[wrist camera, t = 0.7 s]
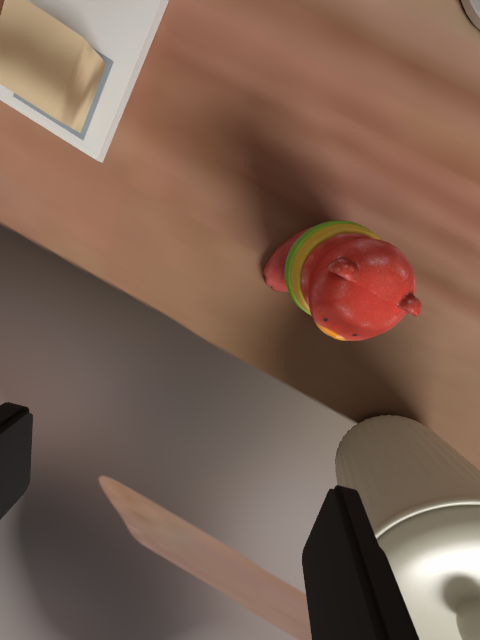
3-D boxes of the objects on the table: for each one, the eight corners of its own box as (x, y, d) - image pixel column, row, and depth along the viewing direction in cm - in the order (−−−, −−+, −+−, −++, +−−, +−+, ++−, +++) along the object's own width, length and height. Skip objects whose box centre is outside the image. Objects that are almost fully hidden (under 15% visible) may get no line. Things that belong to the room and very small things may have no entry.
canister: (317, 391, 39) (380, 558, 19) (460, 391, 38) (688, 570, 18) (313, 499, 44) (359, 721, 24) (438, 502, 43) (598, 739, 23)
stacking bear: (256, 278, 36) (254, 318, 18) (306, 202, 33) (359, 168, 16) (328, 326, 37) (388, 406, 20) (383, 256, 34) (508, 279, 17)
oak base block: (41, 20, 28) (8, -13, 25) (106, 63, 29) (83, 37, 25) (19, 94, 30) (-16, 74, 27) (80, 133, 31) (55, 118, 27)
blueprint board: (77, -154, 26) (68, -174, 25) (196, -67, 27) (193, -81, 26) (2, 100, 32) (-8, 94, 31) (102, 162, 33) (96, 160, 32)
